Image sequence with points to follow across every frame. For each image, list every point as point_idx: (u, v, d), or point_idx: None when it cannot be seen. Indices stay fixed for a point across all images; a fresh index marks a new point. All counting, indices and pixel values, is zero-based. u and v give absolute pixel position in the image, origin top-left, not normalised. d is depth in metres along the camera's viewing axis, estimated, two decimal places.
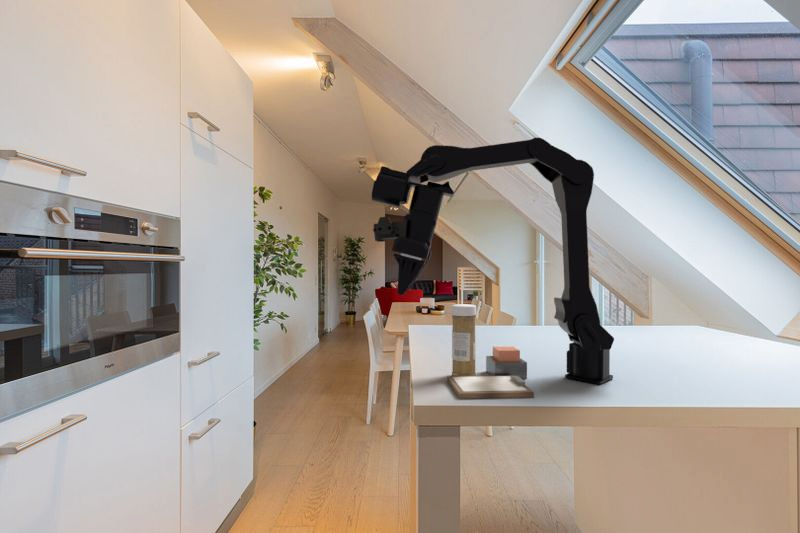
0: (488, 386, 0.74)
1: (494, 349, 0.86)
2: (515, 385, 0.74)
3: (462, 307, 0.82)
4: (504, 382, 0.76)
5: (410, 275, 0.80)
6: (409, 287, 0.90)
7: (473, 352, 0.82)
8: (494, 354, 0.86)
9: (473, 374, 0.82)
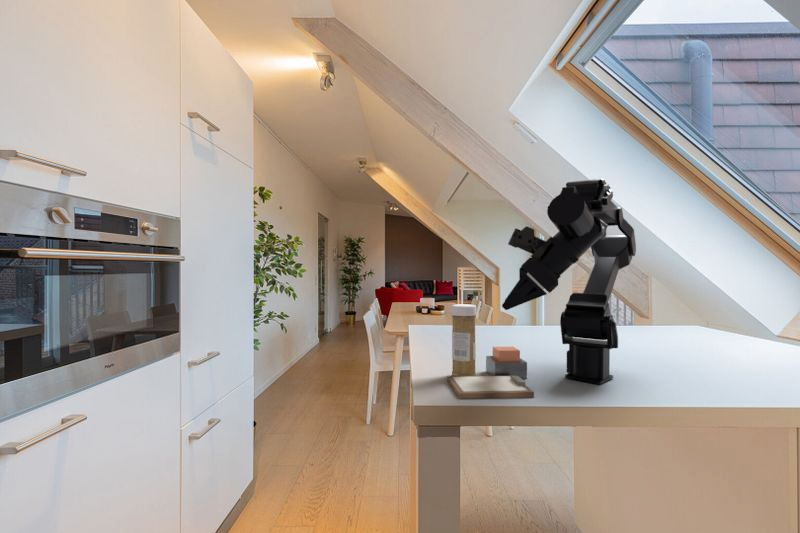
0: (488, 386, 0.74)
1: (494, 349, 0.86)
2: (515, 385, 0.74)
3: (462, 307, 0.82)
4: (504, 382, 0.76)
5: (524, 297, 0.75)
6: None
7: (473, 352, 0.82)
8: (494, 354, 0.86)
9: (473, 374, 0.82)
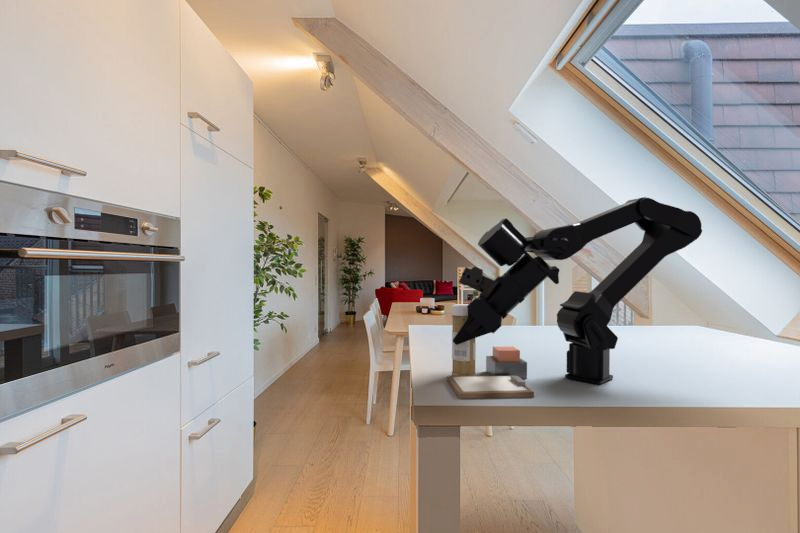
0: (488, 386, 0.74)
1: (494, 349, 0.86)
2: (515, 385, 0.74)
3: (462, 307, 0.82)
4: (504, 382, 0.76)
5: (472, 333, 0.80)
6: None
7: (473, 352, 0.82)
8: (494, 354, 0.86)
9: (473, 374, 0.82)
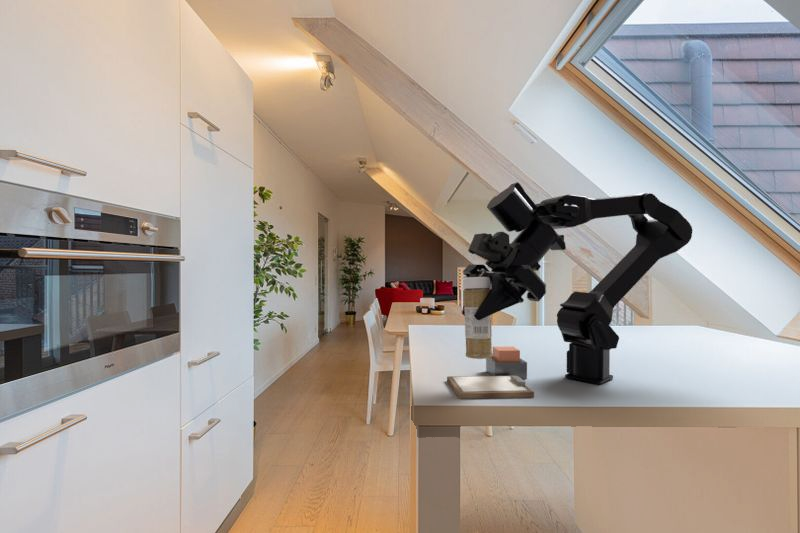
0: (488, 386, 0.74)
1: (494, 349, 0.86)
2: (515, 385, 0.74)
3: (482, 278, 0.74)
4: (504, 382, 0.76)
5: (498, 305, 0.73)
6: None
7: None
8: (494, 354, 0.86)
9: None
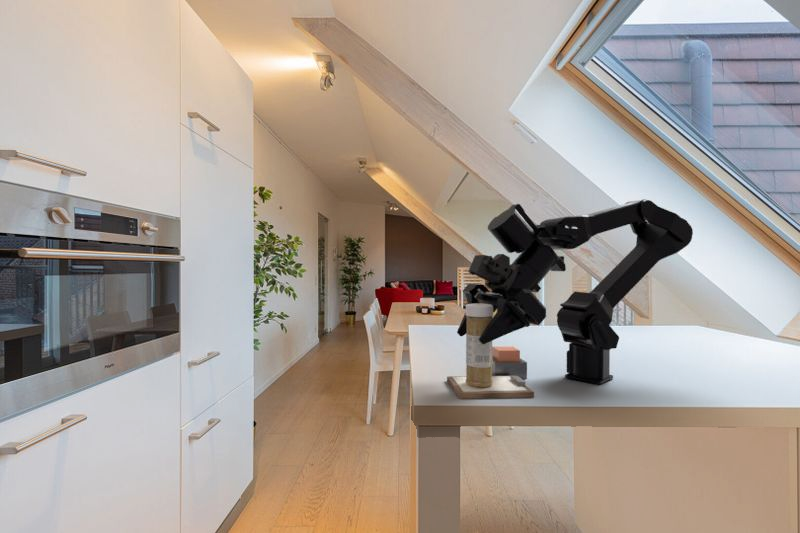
0: None
1: (494, 349, 0.86)
2: (515, 385, 0.74)
3: (485, 307, 0.73)
4: (504, 382, 0.76)
5: (504, 329, 0.71)
6: (465, 333, 0.79)
7: (492, 356, 0.74)
8: (494, 354, 0.86)
9: None
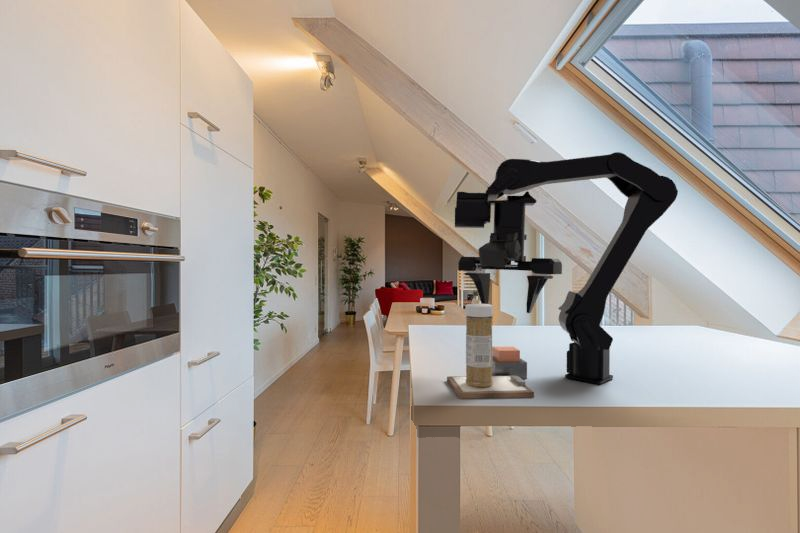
0: (488, 386, 0.74)
1: (494, 349, 0.86)
2: (515, 385, 0.74)
3: (485, 307, 0.73)
4: (504, 382, 0.76)
5: (537, 292, 0.82)
6: None
7: (492, 356, 0.74)
8: (494, 354, 0.86)
9: None
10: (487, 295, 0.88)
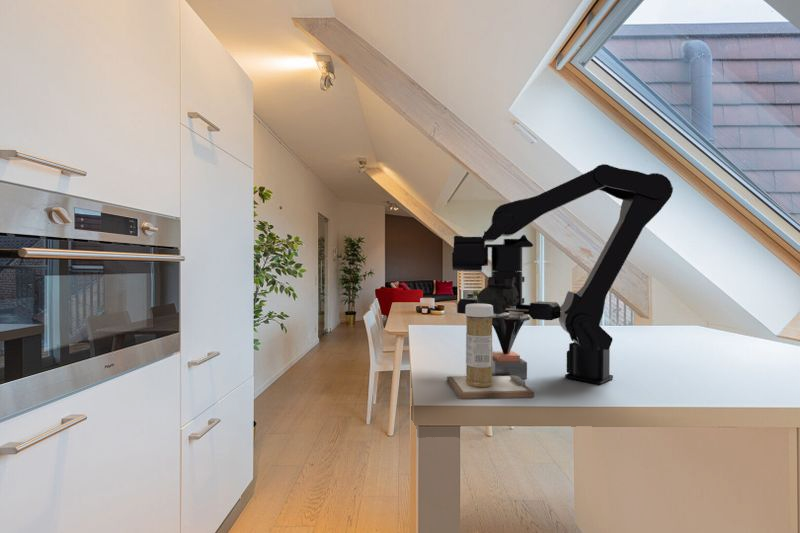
0: None
1: (494, 354, 0.86)
2: (515, 385, 0.74)
3: (485, 307, 0.73)
4: (504, 382, 0.76)
5: (515, 333, 0.85)
6: None
7: (492, 356, 0.74)
8: (494, 359, 0.86)
9: None
10: None
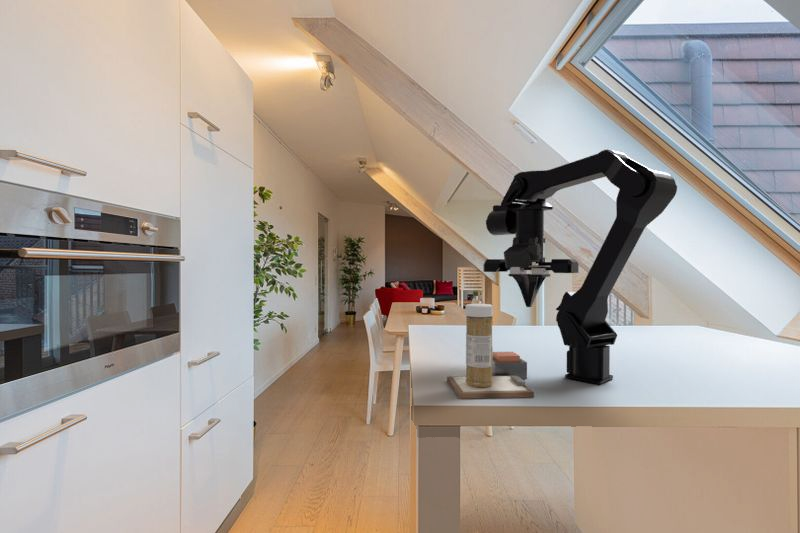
0: None
1: (494, 354, 0.86)
2: (515, 385, 0.74)
3: (485, 307, 0.73)
4: (504, 382, 0.76)
5: (537, 288, 0.94)
6: None
7: (492, 356, 0.74)
8: (494, 359, 0.86)
9: None
10: None
